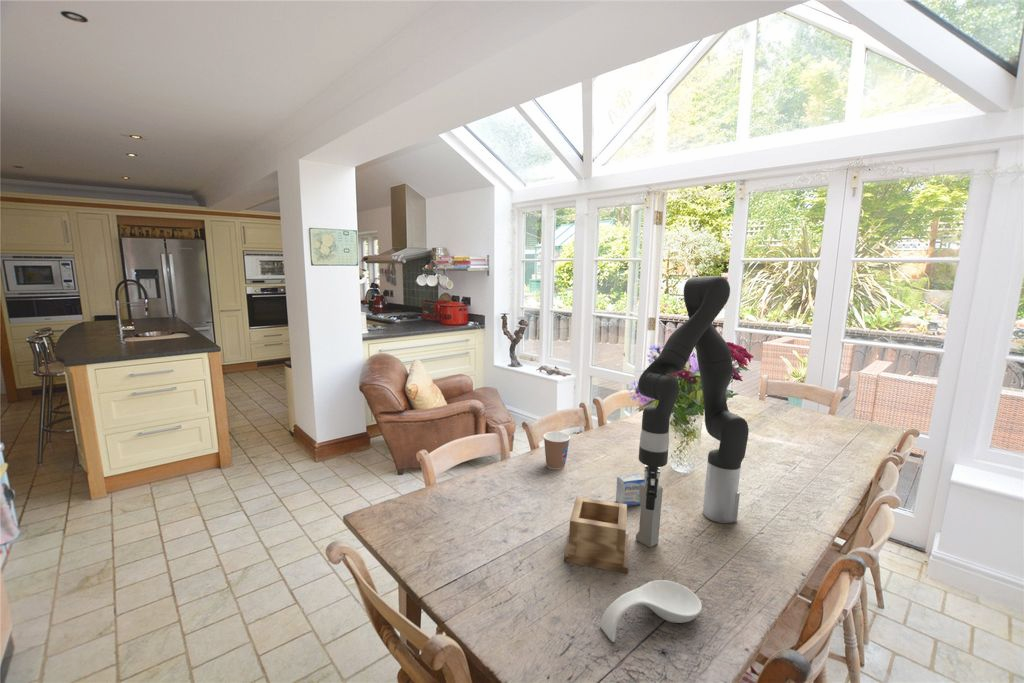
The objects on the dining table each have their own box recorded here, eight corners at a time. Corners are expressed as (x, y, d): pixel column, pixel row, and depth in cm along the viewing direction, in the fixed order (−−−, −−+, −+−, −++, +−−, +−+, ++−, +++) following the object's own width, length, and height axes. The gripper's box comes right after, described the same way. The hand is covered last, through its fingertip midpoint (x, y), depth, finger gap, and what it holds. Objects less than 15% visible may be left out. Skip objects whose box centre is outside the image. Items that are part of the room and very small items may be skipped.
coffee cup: (567, 473, 167) (569, 442, 166) (540, 470, 169) (541, 439, 168) (569, 461, 177) (571, 432, 175) (544, 459, 179) (545, 430, 177)
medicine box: (622, 507, 144) (623, 482, 143) (615, 500, 148) (616, 475, 147) (643, 504, 146) (645, 479, 145) (636, 497, 150) (638, 473, 149)
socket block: (628, 539, 127) (630, 503, 125) (627, 573, 112) (629, 532, 111) (571, 529, 131) (573, 494, 129) (563, 561, 116) (565, 522, 115)
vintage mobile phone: (643, 535, 129) (649, 452, 125) (658, 543, 125) (665, 458, 121) (635, 539, 127) (641, 455, 123) (650, 548, 123) (657, 461, 119)
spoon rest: (672, 588, 108) (674, 560, 107) (712, 622, 97) (715, 593, 96) (590, 617, 98) (591, 588, 97) (624, 660, 88) (626, 627, 86)
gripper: (670, 457, 113) (665, 519, 116) (666, 437, 127) (662, 493, 130) (639, 453, 115) (635, 514, 118) (639, 434, 129) (635, 489, 132)
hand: (649, 503), depth 124 cm, fingers closed on vintage mobile phone, 5 cm apart
